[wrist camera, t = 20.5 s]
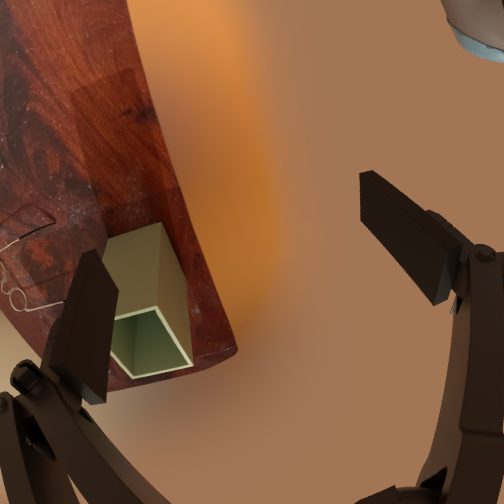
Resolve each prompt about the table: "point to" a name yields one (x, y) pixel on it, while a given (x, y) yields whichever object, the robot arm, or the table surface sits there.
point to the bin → (148, 303)
